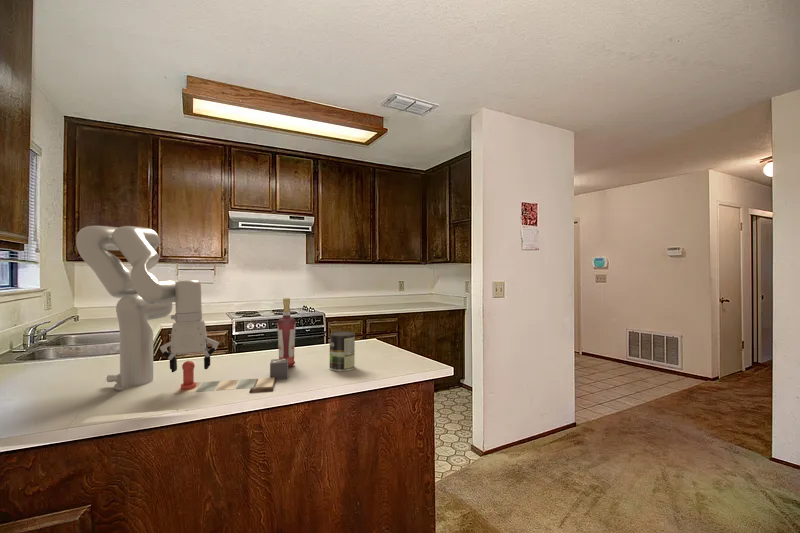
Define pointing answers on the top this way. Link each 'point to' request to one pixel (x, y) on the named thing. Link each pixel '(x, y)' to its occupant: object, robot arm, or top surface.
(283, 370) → the die
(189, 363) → the pawn
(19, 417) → the top surface
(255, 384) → the board
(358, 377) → the top surface
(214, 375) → the top surface
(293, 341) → the liquor
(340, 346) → the coffee can
